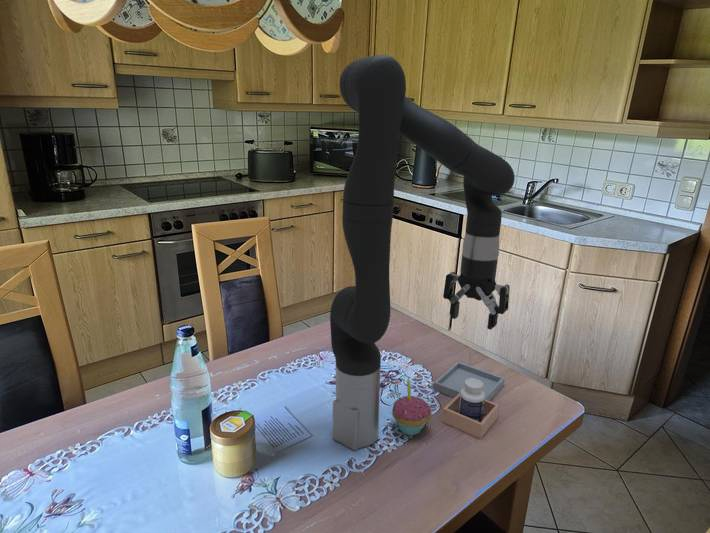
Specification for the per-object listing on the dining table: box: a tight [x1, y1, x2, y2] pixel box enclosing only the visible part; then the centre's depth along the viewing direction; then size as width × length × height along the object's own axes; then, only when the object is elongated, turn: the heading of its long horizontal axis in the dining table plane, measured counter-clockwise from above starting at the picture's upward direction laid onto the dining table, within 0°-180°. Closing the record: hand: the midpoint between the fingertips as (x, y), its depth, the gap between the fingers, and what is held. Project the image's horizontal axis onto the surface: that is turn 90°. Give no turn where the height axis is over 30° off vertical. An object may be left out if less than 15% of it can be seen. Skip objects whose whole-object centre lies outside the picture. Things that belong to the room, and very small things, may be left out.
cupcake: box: [391, 376, 432, 436], centre depth 105 cm, size 9×8×12 cm
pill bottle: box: [458, 378, 485, 423], centre depth 108 cm, size 5×5×10 cm
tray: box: [433, 361, 505, 402], centre depth 122 cm, size 13×13×2 cm
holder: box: [442, 392, 500, 440], centre depth 109 cm, size 9×9×4 cm
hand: (472, 322), depth 108 cm, fingers open, 8 cm apart
